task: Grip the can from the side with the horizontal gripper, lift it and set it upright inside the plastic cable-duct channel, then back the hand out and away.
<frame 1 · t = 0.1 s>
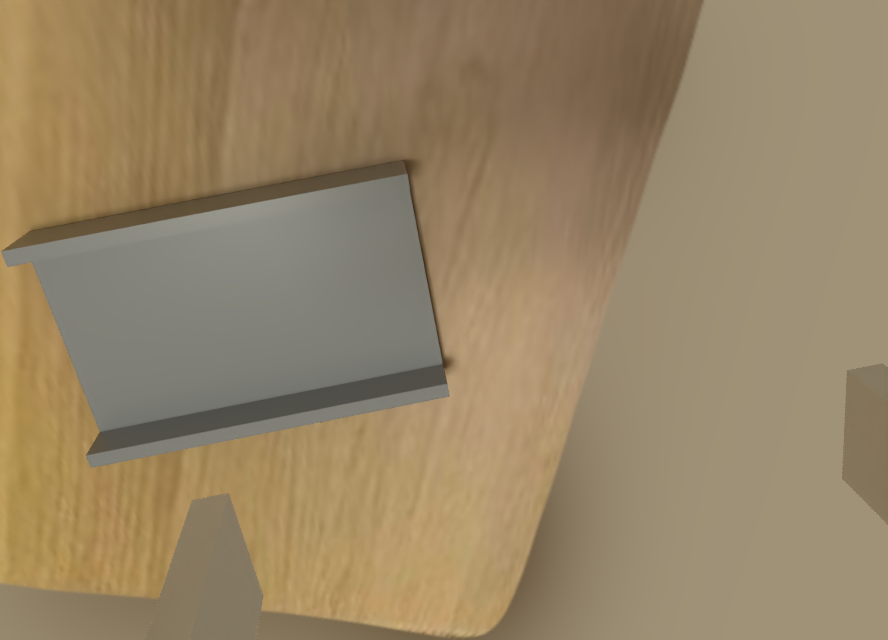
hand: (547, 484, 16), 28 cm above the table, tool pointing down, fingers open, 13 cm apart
duct channel: (249, 304, 44), on the table
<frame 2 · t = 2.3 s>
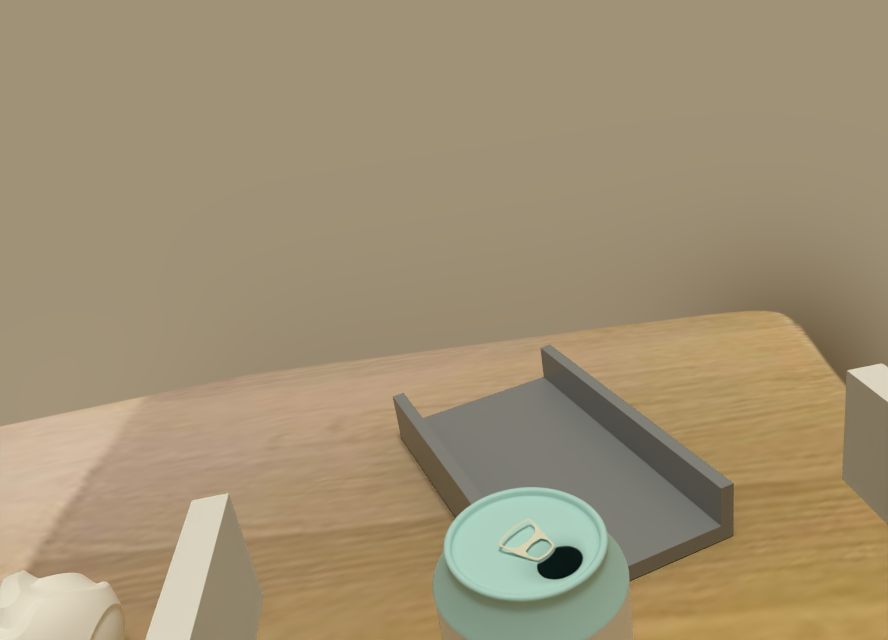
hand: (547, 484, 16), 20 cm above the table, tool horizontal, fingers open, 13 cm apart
duct channel: (544, 479, 49), on the table
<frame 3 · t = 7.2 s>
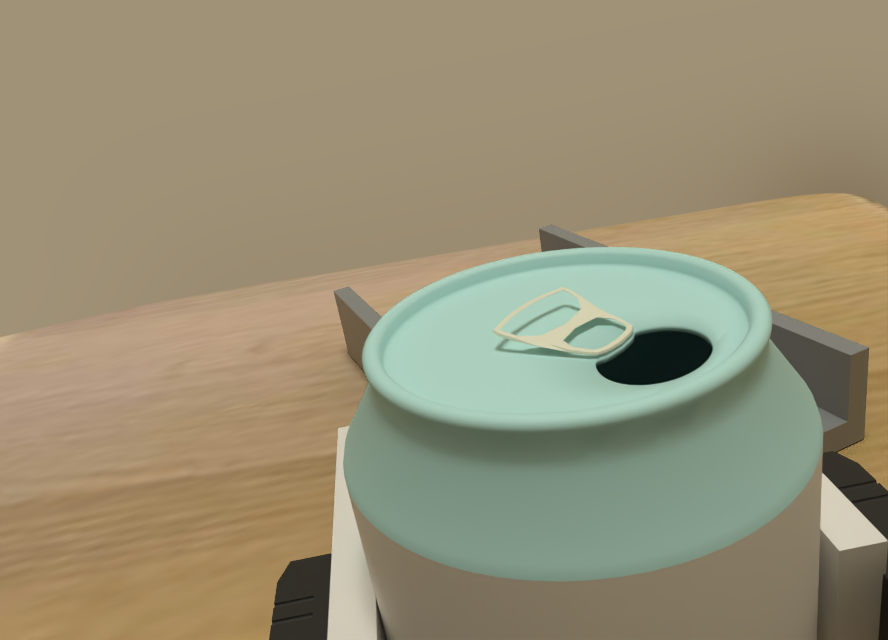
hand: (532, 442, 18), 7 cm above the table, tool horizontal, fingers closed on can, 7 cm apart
duct channel: (554, 387, 33), on the table
when the fingers open (9 cm above the table, at t = 12.3 s): can drops 1 cm, resting on duct channel.
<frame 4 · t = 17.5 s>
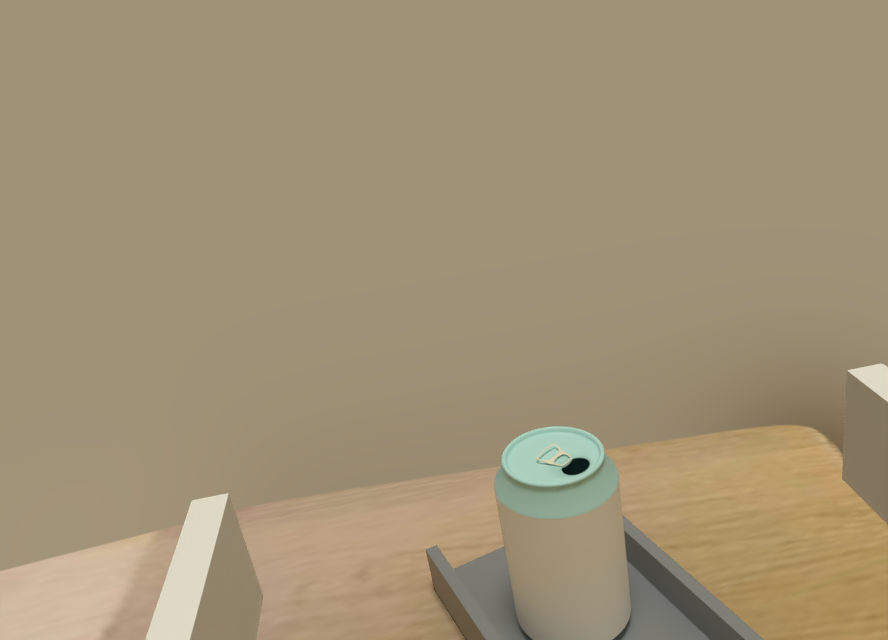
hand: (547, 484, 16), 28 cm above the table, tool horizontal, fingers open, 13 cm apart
can: (574, 616, 48), point 1 cm above the table, touching duct channel
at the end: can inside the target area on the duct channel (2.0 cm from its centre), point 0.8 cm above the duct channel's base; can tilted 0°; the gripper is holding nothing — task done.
